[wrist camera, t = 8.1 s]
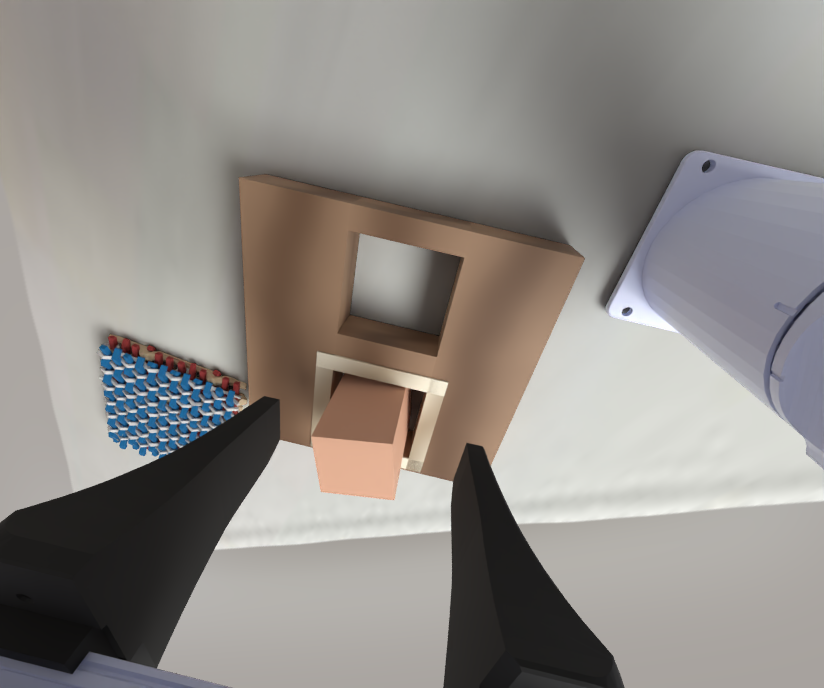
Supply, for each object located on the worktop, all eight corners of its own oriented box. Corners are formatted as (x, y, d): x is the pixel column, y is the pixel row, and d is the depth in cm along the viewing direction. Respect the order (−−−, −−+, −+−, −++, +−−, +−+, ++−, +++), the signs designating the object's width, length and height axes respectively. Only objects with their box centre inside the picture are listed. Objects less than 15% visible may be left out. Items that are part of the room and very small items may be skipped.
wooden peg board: (570, 245, 18) (585, 258, 16) (478, 459, 26) (480, 489, 23) (265, 174, 18) (237, 177, 16) (268, 408, 26) (249, 433, 24)
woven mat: (256, 376, 25) (241, 393, 24) (240, 468, 30) (226, 487, 29) (113, 323, 25) (87, 336, 23) (122, 426, 30) (100, 443, 28)
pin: (411, 365, 23) (392, 444, 16) (411, 413, 24) (394, 500, 18) (350, 360, 23) (310, 436, 17) (355, 408, 25) (320, 491, 19)
